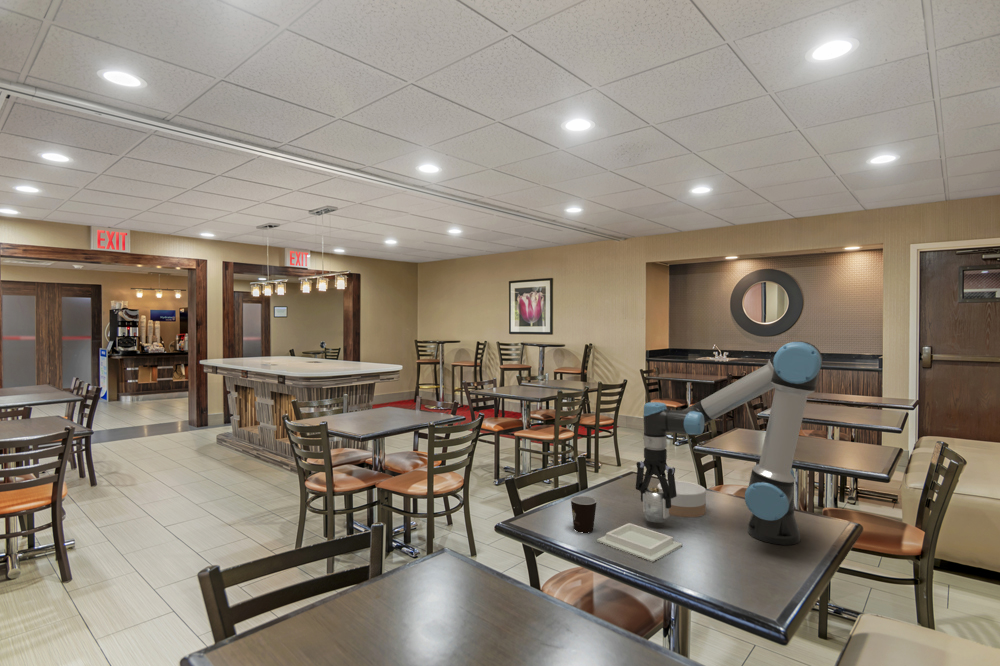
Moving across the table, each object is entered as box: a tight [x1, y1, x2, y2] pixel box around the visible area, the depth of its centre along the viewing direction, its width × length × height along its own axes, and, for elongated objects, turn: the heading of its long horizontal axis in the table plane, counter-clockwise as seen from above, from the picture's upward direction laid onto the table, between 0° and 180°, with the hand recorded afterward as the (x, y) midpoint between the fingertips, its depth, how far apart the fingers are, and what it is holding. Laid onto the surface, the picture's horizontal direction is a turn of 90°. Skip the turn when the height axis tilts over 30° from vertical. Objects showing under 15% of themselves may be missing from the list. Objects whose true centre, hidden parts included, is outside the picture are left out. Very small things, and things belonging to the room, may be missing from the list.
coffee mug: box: [570, 495, 597, 534], centre depth 176 cm, size 12×9×10 cm
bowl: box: [657, 480, 707, 518], centre depth 195 cm, size 17×17×8 cm
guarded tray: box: [596, 522, 683, 561], centre depth 163 cm, size 20×17×3 cm
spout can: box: [644, 486, 668, 524], centre depth 178 cm, size 7×7×11 cm
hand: (655, 514), depth 178 cm, fingers closed on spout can, 7 cm apart
